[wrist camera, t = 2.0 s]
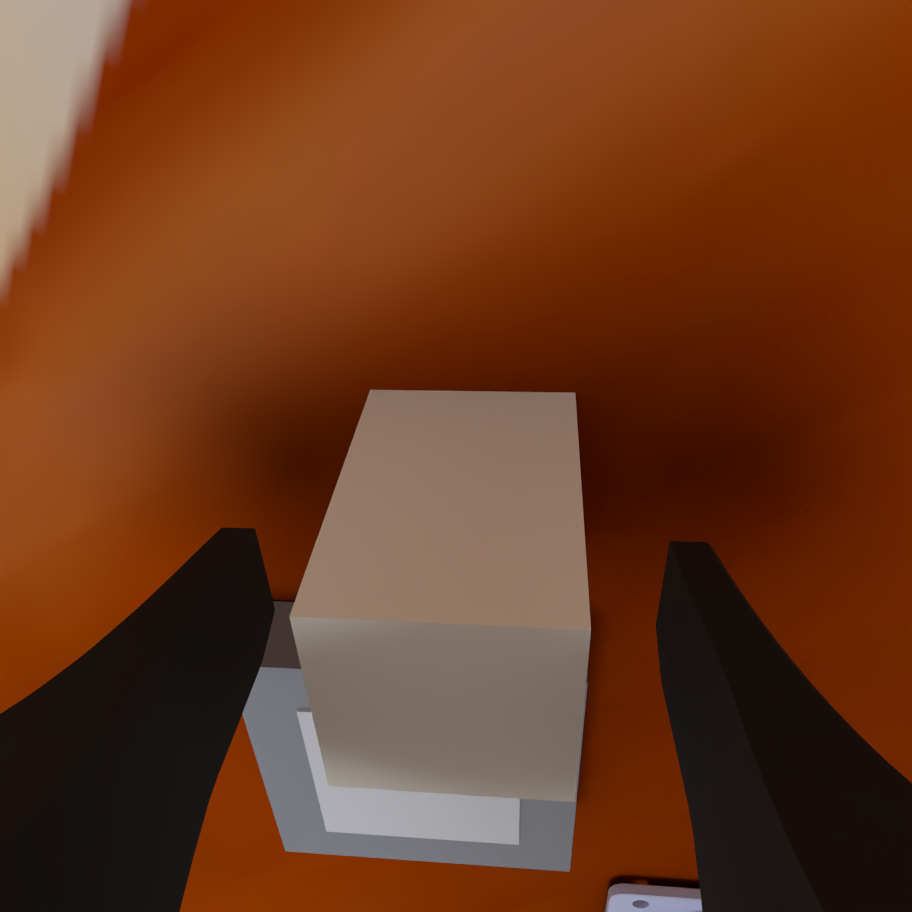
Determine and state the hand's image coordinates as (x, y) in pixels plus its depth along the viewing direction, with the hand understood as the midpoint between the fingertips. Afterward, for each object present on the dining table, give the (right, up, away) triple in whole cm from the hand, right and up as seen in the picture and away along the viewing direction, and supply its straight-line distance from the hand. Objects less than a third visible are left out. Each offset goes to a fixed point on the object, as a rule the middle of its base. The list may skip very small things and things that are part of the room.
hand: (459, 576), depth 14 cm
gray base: (-1, -5, +7) cm, 9 cm away
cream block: (0, +2, +3) cm, 3 cm away
